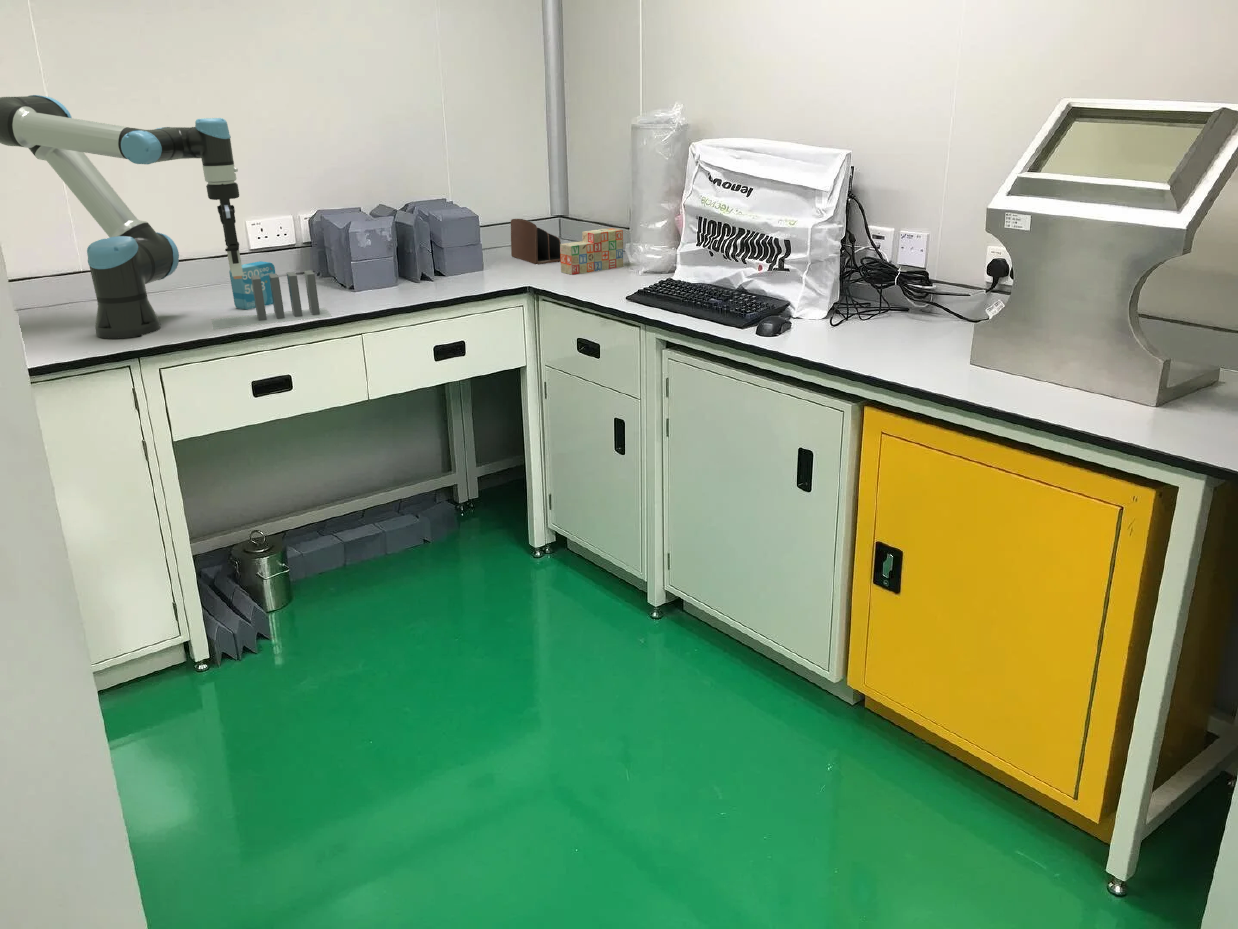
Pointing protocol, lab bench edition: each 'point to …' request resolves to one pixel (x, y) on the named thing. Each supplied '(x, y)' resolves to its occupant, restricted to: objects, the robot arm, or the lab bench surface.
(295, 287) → the domino
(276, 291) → the domino
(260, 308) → the domino
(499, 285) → the lab bench surface
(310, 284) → the domino
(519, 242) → the letter holder
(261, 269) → the data package
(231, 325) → the mat
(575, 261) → the stack of blocks
